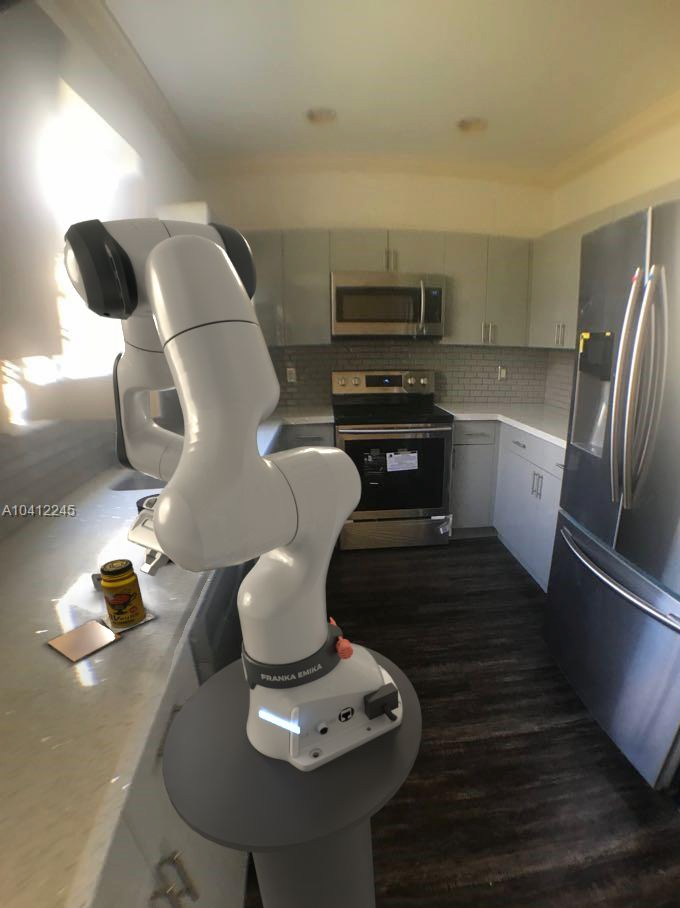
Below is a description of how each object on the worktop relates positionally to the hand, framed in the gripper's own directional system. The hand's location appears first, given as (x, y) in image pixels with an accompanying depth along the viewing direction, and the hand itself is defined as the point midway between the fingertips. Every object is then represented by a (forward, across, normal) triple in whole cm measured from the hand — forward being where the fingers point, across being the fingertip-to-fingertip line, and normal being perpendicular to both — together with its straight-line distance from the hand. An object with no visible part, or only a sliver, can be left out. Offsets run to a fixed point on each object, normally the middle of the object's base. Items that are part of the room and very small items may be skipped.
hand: (146, 573), depth 91 cm
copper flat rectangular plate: (+15, 0, +4) cm, 15 cm away
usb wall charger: (+5, +18, -6) cm, 20 cm away
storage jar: (-6, +18, -16) cm, 25 cm away
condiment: (+9, 0, -1) cm, 9 cm away
